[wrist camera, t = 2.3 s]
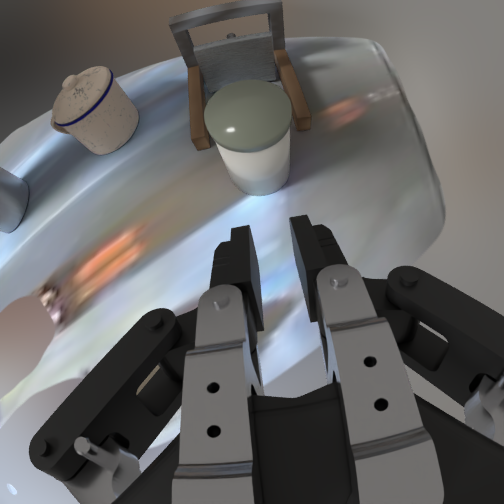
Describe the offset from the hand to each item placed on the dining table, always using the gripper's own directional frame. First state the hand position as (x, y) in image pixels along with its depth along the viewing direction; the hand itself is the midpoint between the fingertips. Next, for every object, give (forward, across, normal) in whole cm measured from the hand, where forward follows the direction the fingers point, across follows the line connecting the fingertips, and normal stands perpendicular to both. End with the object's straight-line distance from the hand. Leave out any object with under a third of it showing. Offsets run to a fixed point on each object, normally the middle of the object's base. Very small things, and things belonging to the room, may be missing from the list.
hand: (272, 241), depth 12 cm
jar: (+20, 0, +3) cm, 20 cm away
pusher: (+30, 0, -8) cm, 31 cm away
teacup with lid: (+28, +20, -6) cm, 35 cm away
